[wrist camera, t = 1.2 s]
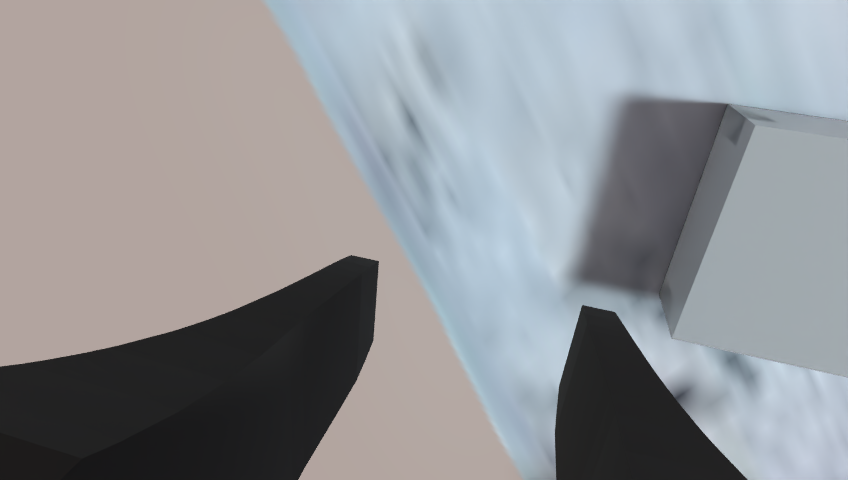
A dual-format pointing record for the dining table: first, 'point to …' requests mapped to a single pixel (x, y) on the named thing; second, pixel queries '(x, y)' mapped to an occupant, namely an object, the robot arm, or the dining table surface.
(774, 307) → the grey slab
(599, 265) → the dining table surface
